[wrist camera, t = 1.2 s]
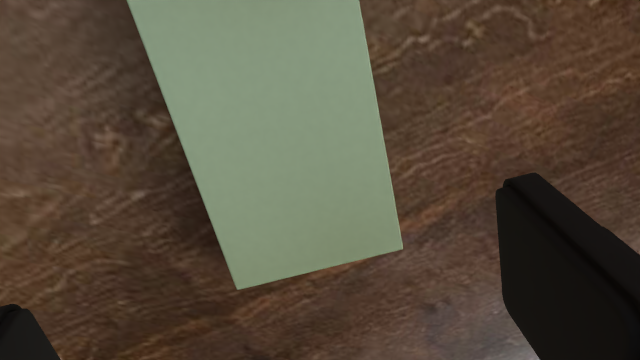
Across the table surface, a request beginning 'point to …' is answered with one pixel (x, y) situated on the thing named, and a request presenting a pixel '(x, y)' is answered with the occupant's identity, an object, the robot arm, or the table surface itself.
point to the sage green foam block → (276, 129)
